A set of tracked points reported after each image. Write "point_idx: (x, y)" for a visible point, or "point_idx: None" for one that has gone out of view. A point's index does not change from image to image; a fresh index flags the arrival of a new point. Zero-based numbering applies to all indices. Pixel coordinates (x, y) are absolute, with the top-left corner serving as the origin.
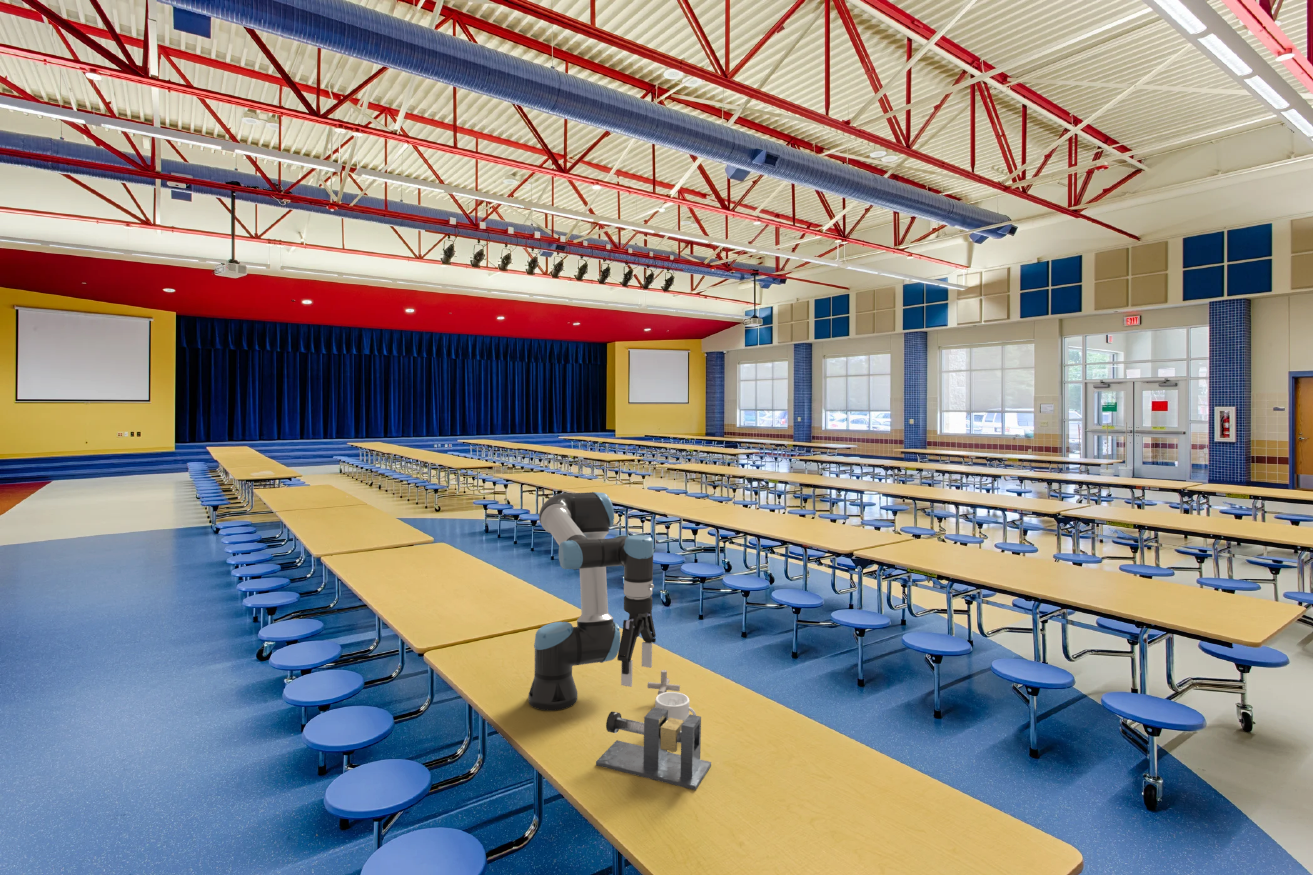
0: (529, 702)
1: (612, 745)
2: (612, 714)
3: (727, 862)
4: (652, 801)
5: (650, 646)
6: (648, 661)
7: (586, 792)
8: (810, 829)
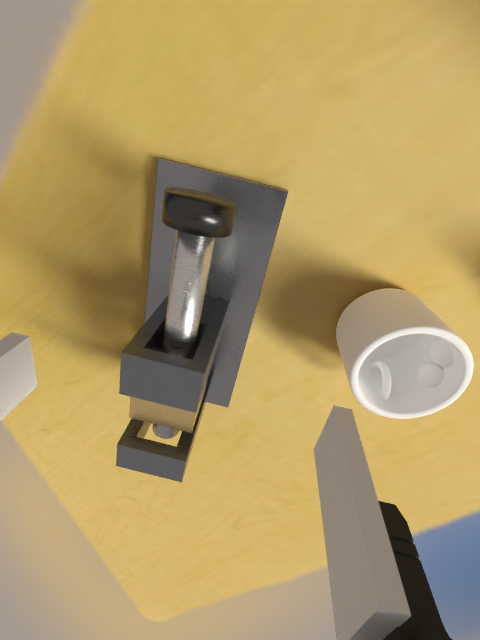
0: None
1: (255, 185)
2: (179, 213)
3: None
4: (79, 315)
5: (335, 613)
6: (324, 469)
7: (44, 169)
8: (111, 494)
